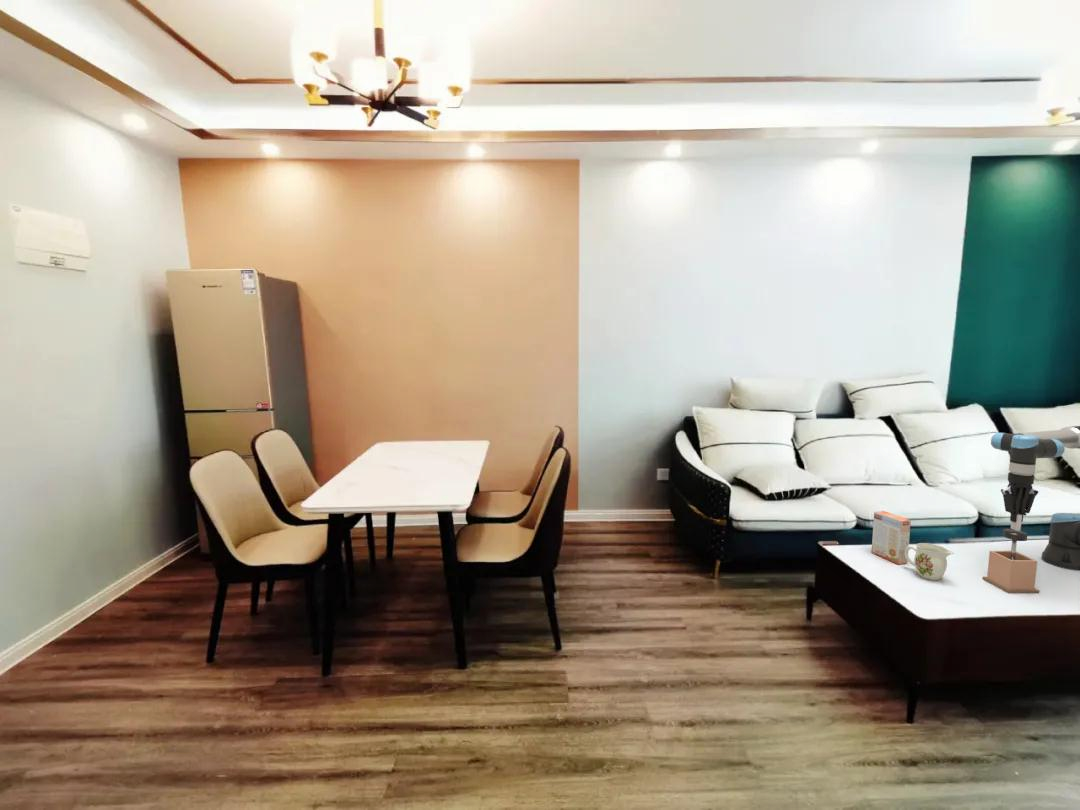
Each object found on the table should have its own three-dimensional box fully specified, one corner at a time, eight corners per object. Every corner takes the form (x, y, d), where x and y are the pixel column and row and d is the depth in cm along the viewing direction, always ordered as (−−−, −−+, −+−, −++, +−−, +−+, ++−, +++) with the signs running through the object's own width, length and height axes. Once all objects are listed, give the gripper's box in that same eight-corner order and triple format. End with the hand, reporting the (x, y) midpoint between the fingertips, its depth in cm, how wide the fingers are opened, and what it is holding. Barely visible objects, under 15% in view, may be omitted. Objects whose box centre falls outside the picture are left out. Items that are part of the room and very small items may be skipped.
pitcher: (911, 565, 221) (913, 536, 220) (958, 582, 205) (960, 550, 204) (896, 569, 217) (898, 540, 215) (943, 587, 201) (946, 555, 199)
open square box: (1011, 579, 207) (1014, 549, 205) (1039, 593, 195) (1042, 562, 193) (982, 579, 207) (985, 549, 206) (1008, 593, 195) (1011, 562, 194)
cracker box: (908, 563, 223) (911, 519, 220) (897, 565, 222) (900, 521, 219) (881, 551, 236) (884, 510, 234) (870, 552, 235) (873, 511, 233)
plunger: (1012, 563, 204) (1016, 528, 202) (1030, 571, 196) (1034, 535, 194) (994, 563, 204) (997, 528, 202) (1010, 571, 196) (1014, 535, 195)
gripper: (1029, 470, 199) (1023, 526, 202) (996, 470, 200) (990, 526, 202) (1047, 475, 192) (1041, 533, 194) (1013, 475, 192) (1007, 532, 195)
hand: (1015, 529), depth 198 cm, fingers closed
